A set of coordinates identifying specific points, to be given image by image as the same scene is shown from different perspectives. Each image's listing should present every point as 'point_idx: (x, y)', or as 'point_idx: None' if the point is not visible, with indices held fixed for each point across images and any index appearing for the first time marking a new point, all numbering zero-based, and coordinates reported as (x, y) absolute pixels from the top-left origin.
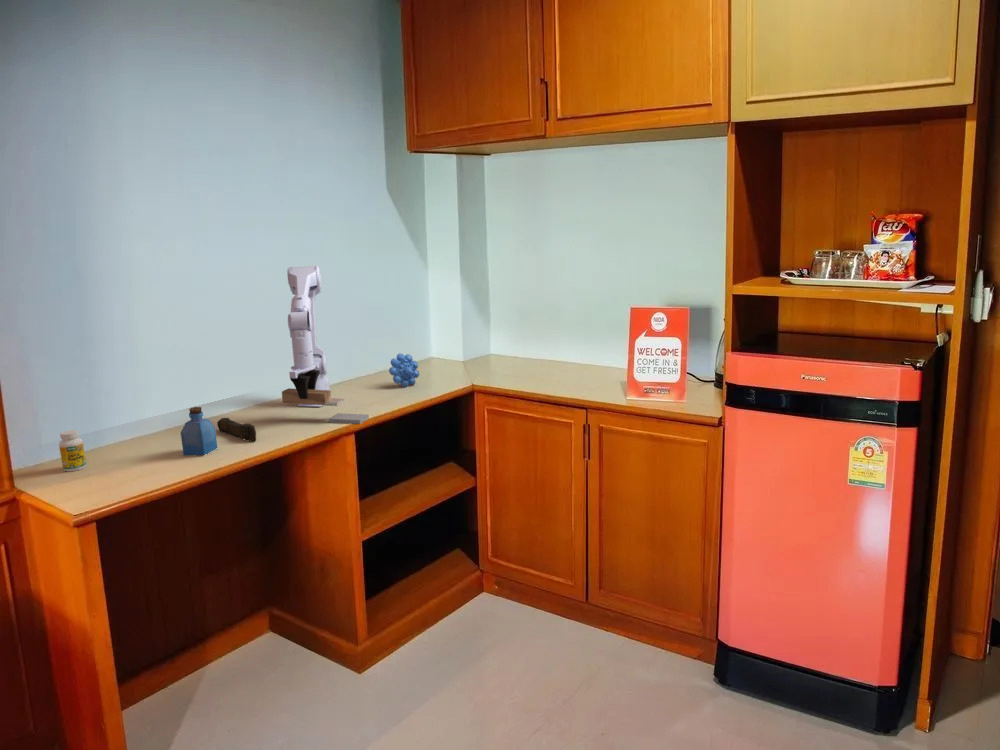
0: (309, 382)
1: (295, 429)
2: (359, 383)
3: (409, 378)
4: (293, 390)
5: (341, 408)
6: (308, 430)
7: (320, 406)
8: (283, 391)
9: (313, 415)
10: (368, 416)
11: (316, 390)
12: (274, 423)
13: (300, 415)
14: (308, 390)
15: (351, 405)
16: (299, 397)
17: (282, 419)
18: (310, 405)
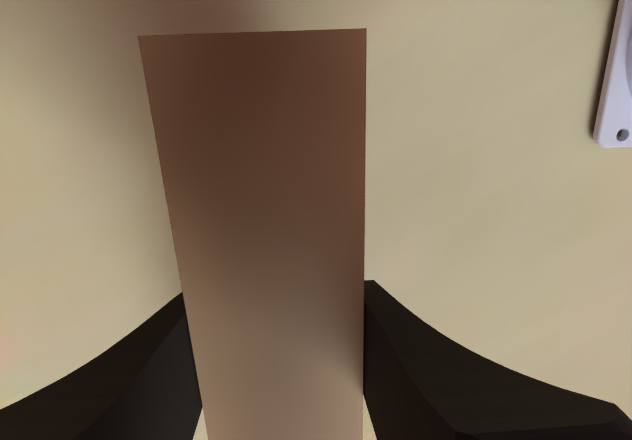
0: (389, 424)
1: (37, 269)
2: None
3: None
4: (260, 188)
5: (556, 297)
6: (51, 353)
7: (599, 145)
8: (153, 65)
9: (377, 207)
10: None
11: (329, 438)
12: (111, 19)
13: (367, 109)
14: (309, 366)
15: (625, 320)
16: (175, 297)
17: (235, 20)
18: (615, 60)
